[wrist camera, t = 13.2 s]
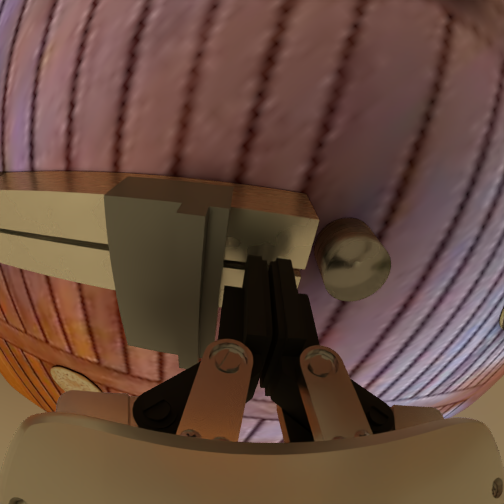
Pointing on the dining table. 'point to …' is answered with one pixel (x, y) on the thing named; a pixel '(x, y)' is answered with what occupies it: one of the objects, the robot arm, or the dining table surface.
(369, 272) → the tongs base
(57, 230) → the arm
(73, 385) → the flatbread
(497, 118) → the dining table surface
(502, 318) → the coffee can
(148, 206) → the sleeve
